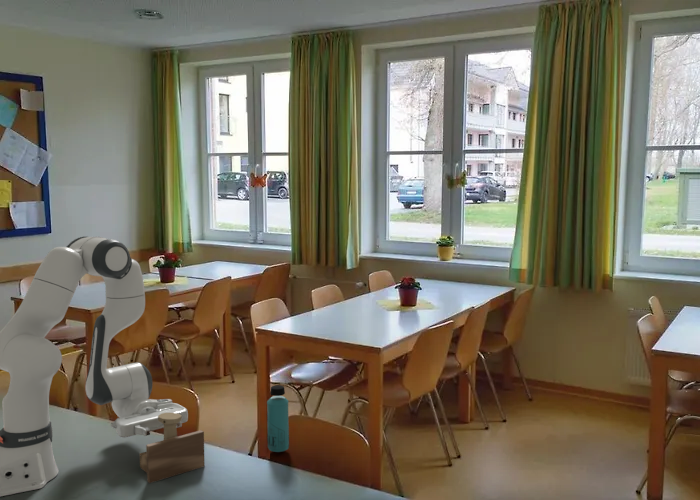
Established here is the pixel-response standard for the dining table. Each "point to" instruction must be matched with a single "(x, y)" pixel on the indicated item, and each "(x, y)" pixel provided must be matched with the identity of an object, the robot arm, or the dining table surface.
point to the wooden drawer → (173, 456)
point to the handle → (169, 424)
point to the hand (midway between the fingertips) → (163, 428)
